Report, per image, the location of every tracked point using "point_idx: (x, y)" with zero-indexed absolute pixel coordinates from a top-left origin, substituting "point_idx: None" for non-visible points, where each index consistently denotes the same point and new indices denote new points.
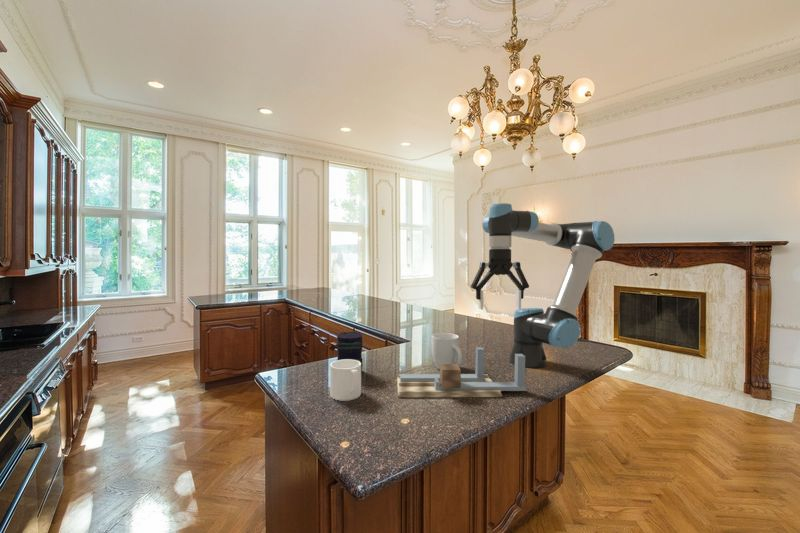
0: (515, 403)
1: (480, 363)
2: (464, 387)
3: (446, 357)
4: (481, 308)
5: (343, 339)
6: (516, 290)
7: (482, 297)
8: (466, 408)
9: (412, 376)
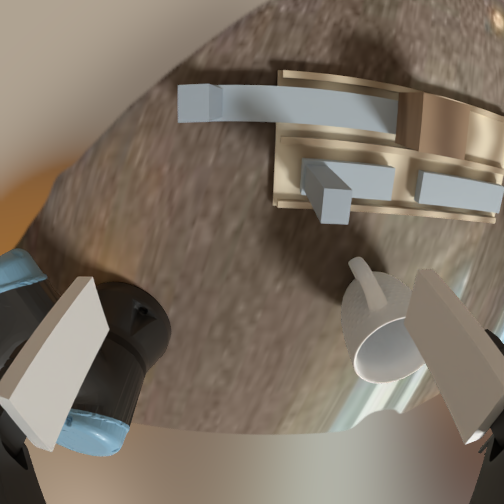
0: (254, 31)
1: (327, 175)
2: (385, 98)
3: (391, 281)
4: (431, 273)
5: None
6: (49, 436)
7: (474, 336)
8: (390, 24)
9: (482, 194)
